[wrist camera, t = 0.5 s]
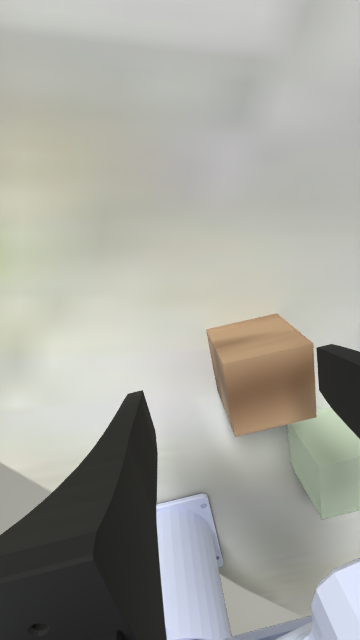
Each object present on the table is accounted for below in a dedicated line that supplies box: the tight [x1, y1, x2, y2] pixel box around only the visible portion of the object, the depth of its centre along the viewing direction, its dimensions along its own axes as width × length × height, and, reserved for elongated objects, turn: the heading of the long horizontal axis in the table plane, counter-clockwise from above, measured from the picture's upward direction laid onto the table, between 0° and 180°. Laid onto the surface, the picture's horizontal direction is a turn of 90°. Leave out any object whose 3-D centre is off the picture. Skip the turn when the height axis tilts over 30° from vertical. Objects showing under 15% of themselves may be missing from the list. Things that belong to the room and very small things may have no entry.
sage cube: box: [287, 407, 360, 519], centre depth 23 cm, size 5×5×5 cm
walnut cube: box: [206, 314, 316, 437], centre depth 20 cm, size 5×5×5 cm
